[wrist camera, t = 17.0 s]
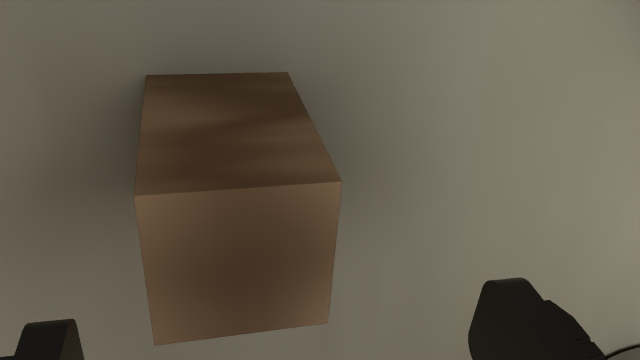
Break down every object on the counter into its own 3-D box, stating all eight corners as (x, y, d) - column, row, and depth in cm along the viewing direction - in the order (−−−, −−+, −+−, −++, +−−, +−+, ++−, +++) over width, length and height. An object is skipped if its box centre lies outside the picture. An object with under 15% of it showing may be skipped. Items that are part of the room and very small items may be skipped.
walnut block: (287, 72, 18) (341, 181, 12) (283, 186, 20) (327, 323, 15) (146, 74, 17) (133, 196, 11) (159, 194, 19) (154, 345, 14)
